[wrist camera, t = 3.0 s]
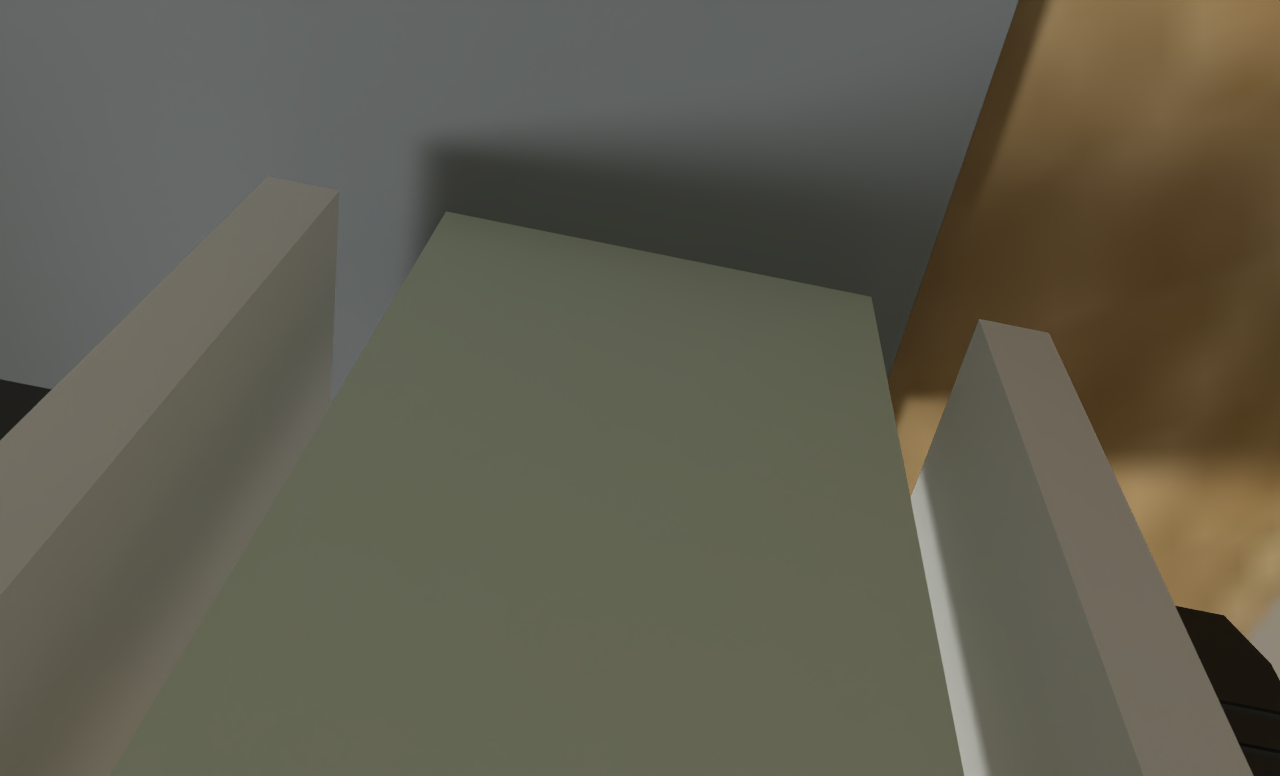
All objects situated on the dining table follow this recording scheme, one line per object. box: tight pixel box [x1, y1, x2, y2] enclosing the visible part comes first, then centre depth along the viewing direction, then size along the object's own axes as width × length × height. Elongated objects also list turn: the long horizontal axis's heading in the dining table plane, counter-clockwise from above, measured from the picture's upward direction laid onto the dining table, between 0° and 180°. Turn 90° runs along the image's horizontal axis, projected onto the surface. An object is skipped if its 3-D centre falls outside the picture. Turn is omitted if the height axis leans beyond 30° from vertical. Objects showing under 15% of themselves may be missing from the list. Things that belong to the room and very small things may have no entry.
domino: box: [109, 211, 964, 776], centre depth 9 cm, size 2×5×11 cm, turn 80°
